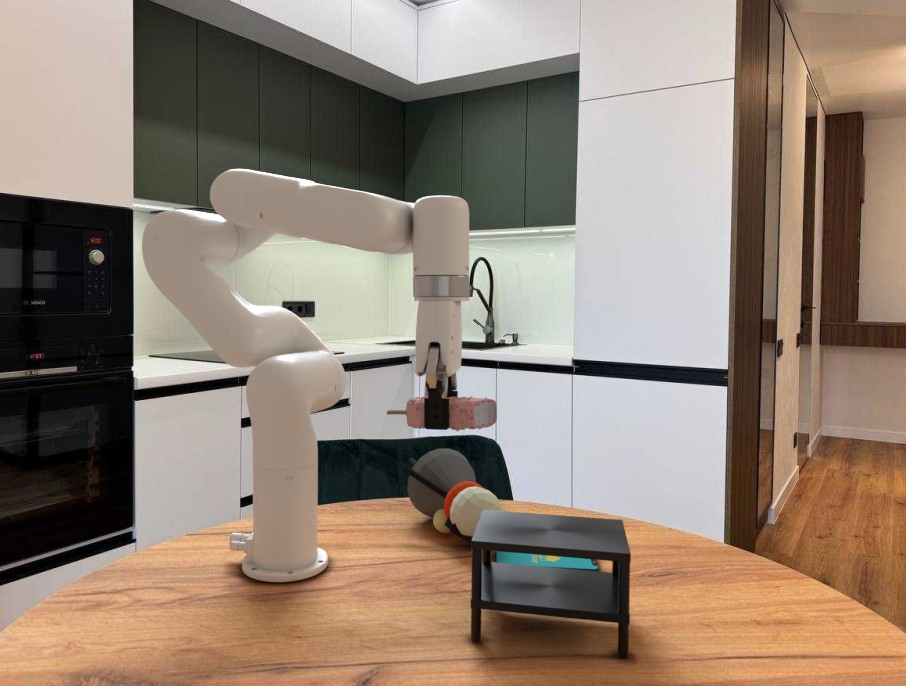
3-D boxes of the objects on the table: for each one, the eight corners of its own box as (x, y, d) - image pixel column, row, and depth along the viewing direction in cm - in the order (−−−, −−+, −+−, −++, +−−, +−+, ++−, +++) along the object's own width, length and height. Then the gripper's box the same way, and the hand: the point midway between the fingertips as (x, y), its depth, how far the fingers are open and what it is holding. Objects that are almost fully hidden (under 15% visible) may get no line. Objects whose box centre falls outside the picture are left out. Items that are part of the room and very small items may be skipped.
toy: (367, 476, 133) (422, 538, 104) (401, 417, 134) (464, 463, 106) (438, 512, 138) (508, 580, 110) (470, 455, 140) (547, 508, 112)
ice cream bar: (391, 394, 97) (497, 394, 95) (392, 424, 97) (497, 425, 95) (382, 399, 91) (495, 399, 89) (382, 432, 91) (495, 433, 89)
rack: (470, 641, 82) (471, 540, 81) (482, 597, 94) (483, 509, 93) (629, 659, 78) (630, 554, 78) (620, 611, 90) (622, 519, 89)
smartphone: (496, 545, 110) (593, 550, 108) (496, 550, 110) (593, 555, 108) (495, 564, 103) (599, 569, 101) (495, 569, 103) (599, 575, 101)
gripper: (426, 290, 102) (426, 412, 102) (398, 289, 85) (399, 436, 85) (477, 290, 100) (477, 414, 101) (459, 289, 83) (459, 438, 84)
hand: (441, 422), depth 93 cm, fingers closed on ice cream bar, 6 cm apart
